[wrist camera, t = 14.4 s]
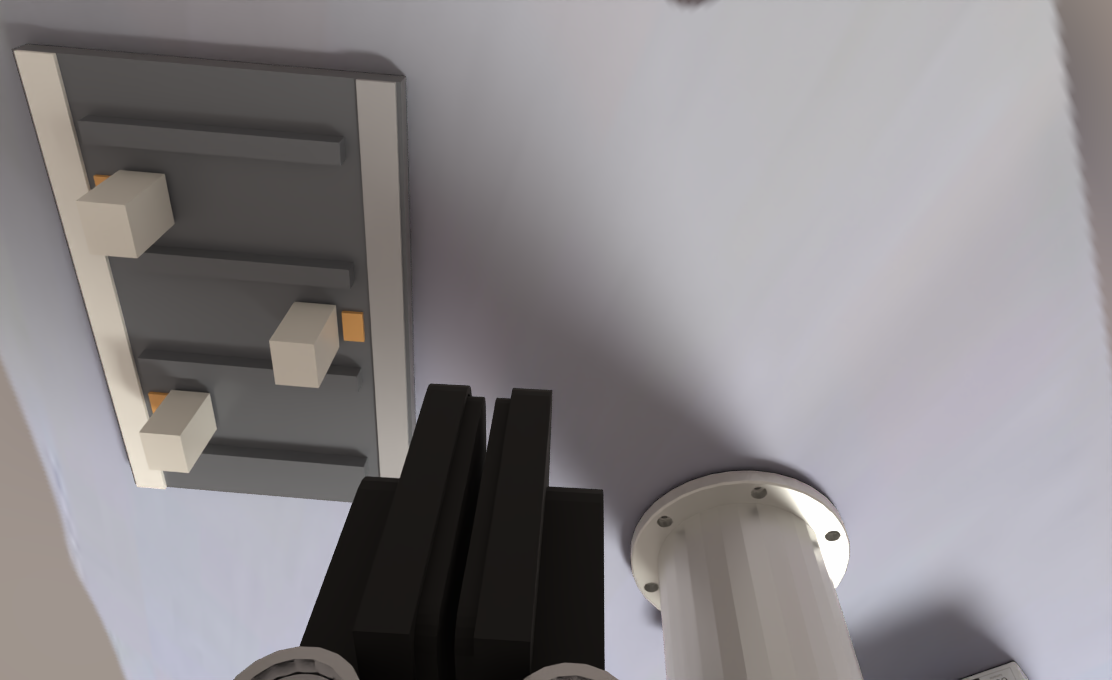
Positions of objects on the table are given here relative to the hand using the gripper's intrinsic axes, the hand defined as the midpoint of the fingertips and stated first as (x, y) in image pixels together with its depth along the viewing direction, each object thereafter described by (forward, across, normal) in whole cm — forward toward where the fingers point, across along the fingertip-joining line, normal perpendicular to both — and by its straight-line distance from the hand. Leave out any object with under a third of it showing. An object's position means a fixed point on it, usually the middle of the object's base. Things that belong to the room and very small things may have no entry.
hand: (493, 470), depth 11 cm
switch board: (+26, +15, +13) cm, 32 cm away
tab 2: (+25, +19, +19) cm, 36 cm away
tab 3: (+25, +12, +13) cm, 30 cm away
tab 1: (+24, +18, +7) cm, 31 cm away
